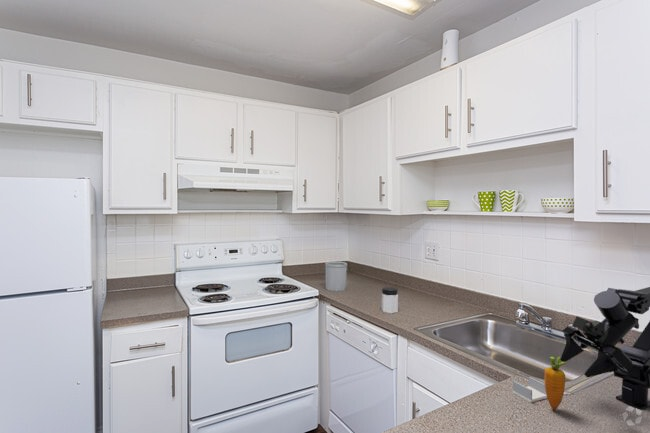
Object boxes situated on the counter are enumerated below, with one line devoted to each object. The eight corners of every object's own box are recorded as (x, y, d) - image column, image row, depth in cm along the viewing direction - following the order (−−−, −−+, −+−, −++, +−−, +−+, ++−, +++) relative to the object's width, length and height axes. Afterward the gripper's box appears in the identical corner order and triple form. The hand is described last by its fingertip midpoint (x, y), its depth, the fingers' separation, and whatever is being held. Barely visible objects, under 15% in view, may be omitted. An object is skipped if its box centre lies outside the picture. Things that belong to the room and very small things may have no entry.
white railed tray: (530, 388, 112) (530, 377, 112) (548, 397, 107) (548, 386, 107) (512, 392, 110) (512, 381, 109) (530, 402, 104) (530, 390, 104)
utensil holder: (349, 290, 242) (350, 264, 241) (328, 291, 237) (328, 265, 237) (342, 286, 256) (343, 261, 255) (322, 287, 252) (322, 261, 251)
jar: (380, 308, 199) (380, 286, 199) (395, 308, 200) (395, 286, 199) (383, 313, 190) (383, 290, 190) (399, 313, 191) (399, 290, 190)
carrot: (556, 404, 103) (558, 352, 103) (568, 414, 98) (570, 359, 98) (539, 405, 103) (540, 352, 102) (550, 415, 98) (552, 359, 97)
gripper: (569, 299, 109) (532, 335, 109) (623, 318, 91) (578, 362, 90) (594, 325, 110) (557, 361, 110) (652, 349, 91) (608, 393, 91)
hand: (573, 368), depth 100 cm, fingers open, 9 cm apart
